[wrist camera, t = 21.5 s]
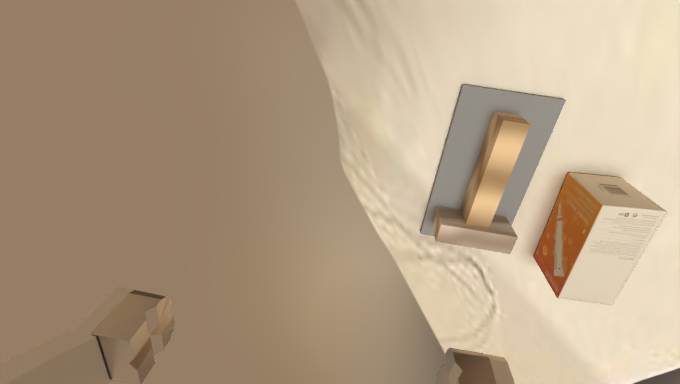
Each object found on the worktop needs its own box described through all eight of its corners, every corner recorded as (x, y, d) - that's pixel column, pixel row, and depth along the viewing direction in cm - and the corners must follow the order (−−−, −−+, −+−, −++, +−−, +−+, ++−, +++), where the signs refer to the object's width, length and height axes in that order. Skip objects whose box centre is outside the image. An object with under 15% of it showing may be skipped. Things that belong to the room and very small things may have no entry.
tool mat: (462, 83, 39) (463, 85, 38) (563, 98, 38) (565, 100, 38) (420, 231, 48) (420, 233, 48) (500, 244, 48) (501, 247, 47)
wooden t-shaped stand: (466, 106, 39) (475, 118, 35) (547, 119, 39) (565, 132, 35) (431, 221, 47) (435, 241, 43) (499, 232, 46) (510, 254, 42)
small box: (602, 204, 35) (557, 300, 41) (670, 211, 34) (614, 307, 41) (565, 171, 42) (532, 257, 48) (621, 176, 41) (580, 262, 48)
